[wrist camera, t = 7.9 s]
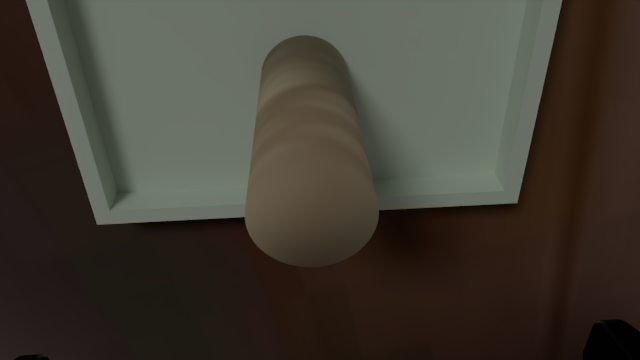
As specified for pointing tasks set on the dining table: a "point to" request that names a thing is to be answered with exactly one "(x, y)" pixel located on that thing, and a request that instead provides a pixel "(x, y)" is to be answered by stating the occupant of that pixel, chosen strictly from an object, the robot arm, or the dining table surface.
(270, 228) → the dowel
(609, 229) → the dining table surface
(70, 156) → the dining table surface
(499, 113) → the tray
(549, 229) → the dining table surface
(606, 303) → the dining table surface
